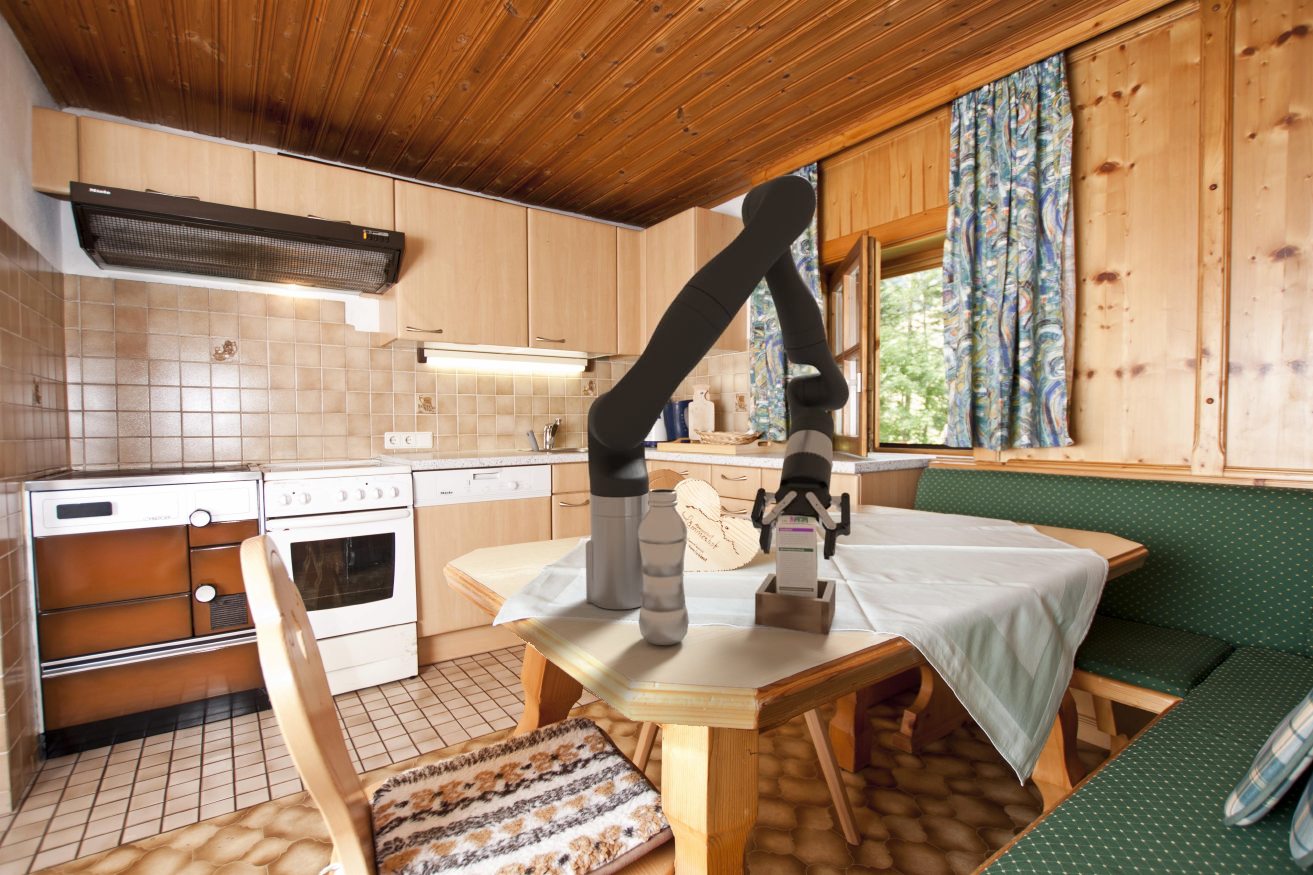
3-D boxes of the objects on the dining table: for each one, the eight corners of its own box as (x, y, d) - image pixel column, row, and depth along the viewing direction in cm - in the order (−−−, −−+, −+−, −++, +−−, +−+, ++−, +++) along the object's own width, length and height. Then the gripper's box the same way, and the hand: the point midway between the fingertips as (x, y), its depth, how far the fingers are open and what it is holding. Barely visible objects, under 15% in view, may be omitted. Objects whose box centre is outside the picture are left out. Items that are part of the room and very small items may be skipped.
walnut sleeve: (755, 624, 82) (755, 593, 82) (768, 601, 91) (769, 573, 91) (828, 634, 78) (829, 602, 78) (835, 609, 87) (835, 580, 87)
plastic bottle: (699, 640, 77) (698, 490, 75) (663, 656, 72) (662, 496, 71) (664, 626, 81) (663, 485, 80) (628, 641, 76) (626, 491, 75)
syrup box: (817, 625, 81) (819, 523, 80) (774, 622, 83) (775, 521, 82) (816, 611, 87) (817, 515, 86) (776, 607, 88) (776, 513, 87)
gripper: (759, 449, 93) (742, 535, 83) (853, 451, 87) (847, 544, 77) (765, 477, 98) (750, 562, 88) (855, 481, 93) (849, 572, 83)
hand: (795, 553), depth 83 cm, fingers open, 8 cm apart
